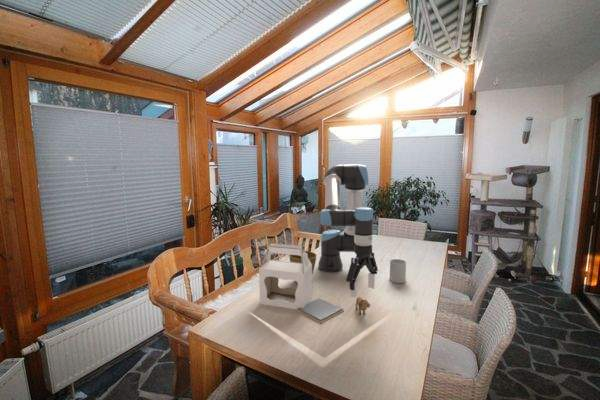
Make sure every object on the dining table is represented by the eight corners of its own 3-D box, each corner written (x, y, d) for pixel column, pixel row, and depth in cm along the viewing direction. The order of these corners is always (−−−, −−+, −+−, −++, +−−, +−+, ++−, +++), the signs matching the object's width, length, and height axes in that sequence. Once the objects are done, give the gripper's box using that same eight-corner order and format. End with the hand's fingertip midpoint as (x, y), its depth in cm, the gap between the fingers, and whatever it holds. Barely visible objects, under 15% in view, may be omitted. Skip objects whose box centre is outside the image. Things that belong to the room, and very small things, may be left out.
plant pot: (284, 283, 159) (283, 255, 157) (302, 275, 170) (302, 249, 168) (304, 290, 149) (303, 260, 147) (321, 282, 160) (321, 254, 158)
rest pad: (295, 310, 128) (295, 308, 128) (318, 300, 138) (318, 297, 138) (321, 323, 117) (321, 320, 117) (343, 310, 127) (343, 308, 127)
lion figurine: (371, 317, 121) (371, 301, 121) (361, 319, 120) (362, 302, 120) (359, 304, 133) (359, 289, 132) (350, 305, 132) (351, 290, 131)
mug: (402, 284, 156) (403, 264, 155) (387, 281, 161) (387, 261, 160) (409, 277, 165) (409, 259, 164) (394, 274, 170) (395, 256, 169)
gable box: (259, 304, 135) (257, 246, 132) (270, 293, 147) (269, 239, 144) (304, 311, 128) (303, 250, 125) (312, 298, 140) (312, 242, 137)
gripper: (353, 251, 111) (352, 304, 113) (386, 240, 128) (385, 286, 130) (337, 247, 117) (337, 298, 119) (371, 238, 134) (370, 282, 136)
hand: (362, 292), depth 124 cm, fingers open, 13 cm apart
